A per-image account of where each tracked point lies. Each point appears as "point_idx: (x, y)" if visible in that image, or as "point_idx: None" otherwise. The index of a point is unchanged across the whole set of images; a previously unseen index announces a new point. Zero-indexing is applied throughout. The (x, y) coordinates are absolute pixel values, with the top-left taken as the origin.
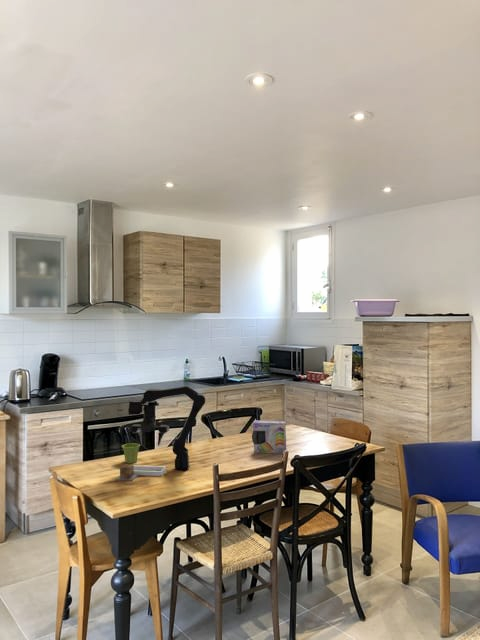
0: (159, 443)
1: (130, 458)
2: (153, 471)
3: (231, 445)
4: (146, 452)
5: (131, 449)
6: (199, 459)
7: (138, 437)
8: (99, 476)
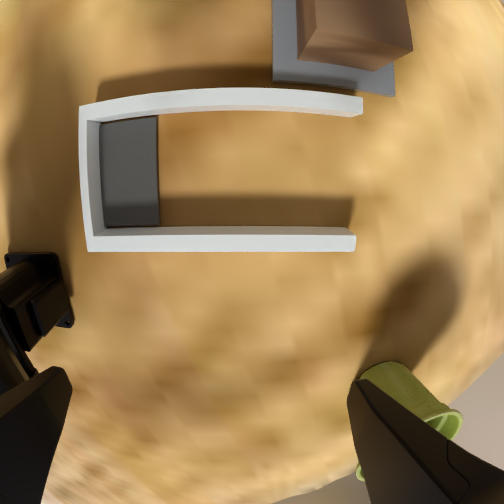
0: (26, 382)
1: (392, 378)
2: (137, 97)
3: (76, 491)
4: (319, 477)
5: None
6: None
7: (459, 468)
8: (484, 97)
